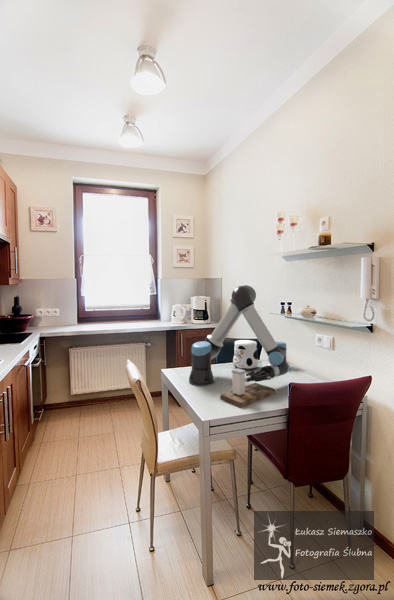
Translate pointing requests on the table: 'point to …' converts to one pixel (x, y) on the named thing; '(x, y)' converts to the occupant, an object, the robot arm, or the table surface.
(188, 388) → the table surface
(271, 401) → the table surface
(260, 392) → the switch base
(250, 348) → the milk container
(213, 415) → the table surface
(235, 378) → the white lidded canister
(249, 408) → the table surface
